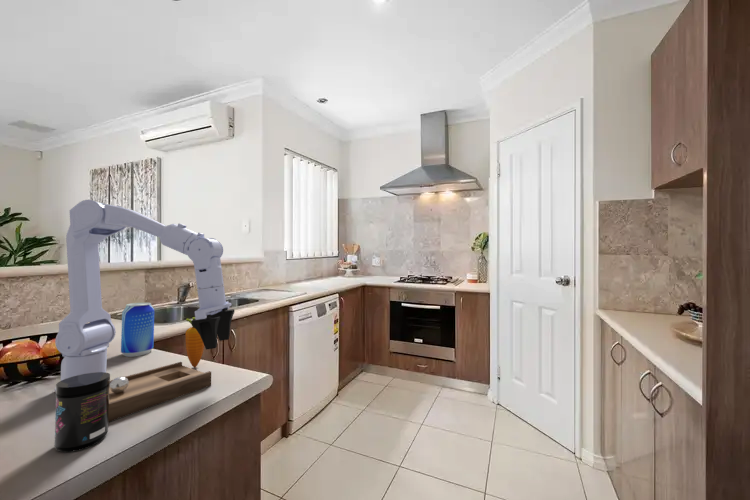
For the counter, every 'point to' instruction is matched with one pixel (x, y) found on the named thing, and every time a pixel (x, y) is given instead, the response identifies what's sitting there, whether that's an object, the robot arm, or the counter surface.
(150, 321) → the beer can
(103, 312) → the robot arm
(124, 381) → the ball
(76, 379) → the supplement container
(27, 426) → the counter surface
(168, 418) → the counter surface
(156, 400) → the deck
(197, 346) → the carrot
